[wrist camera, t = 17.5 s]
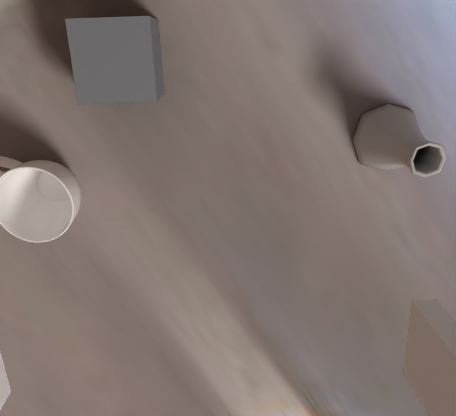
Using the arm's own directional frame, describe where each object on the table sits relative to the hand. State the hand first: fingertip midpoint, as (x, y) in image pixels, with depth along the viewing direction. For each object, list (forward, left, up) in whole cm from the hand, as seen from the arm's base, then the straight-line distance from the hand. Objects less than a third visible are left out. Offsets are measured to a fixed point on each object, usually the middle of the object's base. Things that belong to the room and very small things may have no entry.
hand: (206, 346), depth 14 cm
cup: (+4, -18, -35) cm, 39 cm away
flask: (+1, +19, -35) cm, 40 cm away
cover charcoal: (-8, -8, -35) cm, 37 cm away
